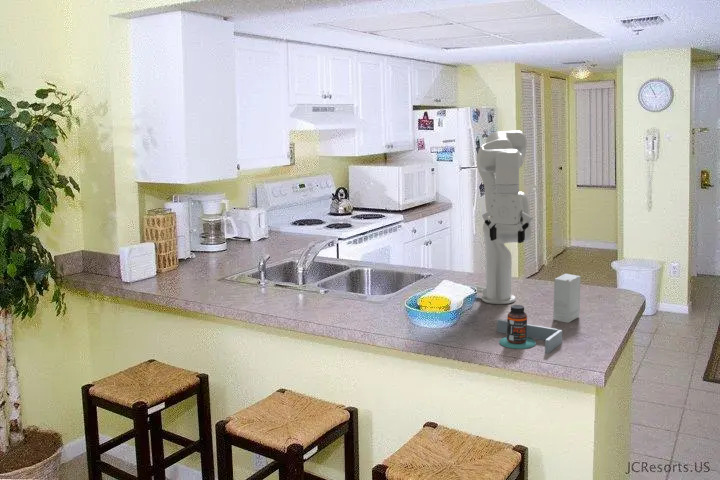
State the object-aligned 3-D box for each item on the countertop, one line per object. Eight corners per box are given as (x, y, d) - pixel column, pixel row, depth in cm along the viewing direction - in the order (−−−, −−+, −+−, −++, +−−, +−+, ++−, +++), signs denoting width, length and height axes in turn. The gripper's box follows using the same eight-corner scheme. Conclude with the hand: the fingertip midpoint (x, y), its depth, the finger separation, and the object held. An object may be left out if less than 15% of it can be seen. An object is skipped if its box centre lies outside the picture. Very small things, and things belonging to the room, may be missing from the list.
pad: (493, 344, 211) (493, 344, 211) (508, 335, 220) (508, 334, 220) (526, 351, 205) (526, 350, 205) (541, 340, 213) (541, 339, 213)
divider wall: (482, 341, 215) (482, 328, 214) (498, 331, 224) (498, 319, 223) (548, 353, 202) (548, 340, 202) (562, 342, 211) (562, 329, 211)
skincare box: (564, 314, 239) (564, 272, 237) (580, 317, 235) (581, 275, 232) (552, 320, 233) (553, 277, 231) (569, 323, 229) (570, 280, 226)
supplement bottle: (513, 345, 209) (513, 310, 207) (503, 339, 215) (503, 304, 212) (530, 343, 211) (531, 307, 209) (520, 337, 216) (520, 302, 214)
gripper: (477, 189, 225) (477, 241, 228) (527, 191, 215) (527, 245, 218) (488, 187, 231) (488, 237, 234) (537, 189, 221) (536, 241, 224)
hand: (506, 241), depth 226 cm, fingers open, 9 cm apart
